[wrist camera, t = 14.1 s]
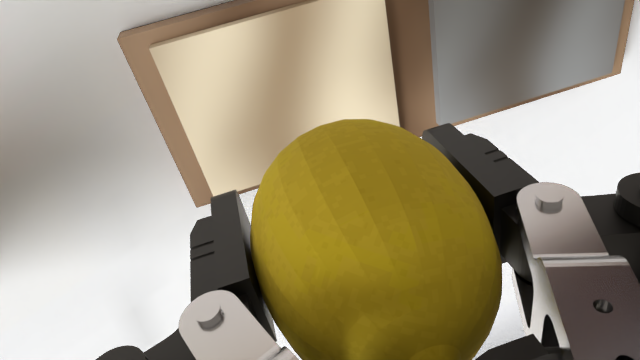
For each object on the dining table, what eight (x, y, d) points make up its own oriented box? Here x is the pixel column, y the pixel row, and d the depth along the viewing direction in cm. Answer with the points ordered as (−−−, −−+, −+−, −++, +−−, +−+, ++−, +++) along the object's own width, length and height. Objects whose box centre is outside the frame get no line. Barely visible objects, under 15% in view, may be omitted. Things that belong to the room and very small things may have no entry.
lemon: (416, 70, 13) (635, 241, 7) (395, 218, 16) (533, 436, 10) (228, 81, 12) (276, 302, 6) (242, 239, 15) (284, 503, 9)
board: (635, -112, 19) (666, -112, 18) (605, 67, 23) (628, 76, 22) (120, 32, 17) (115, 43, 16) (196, 195, 22) (196, 213, 20)
